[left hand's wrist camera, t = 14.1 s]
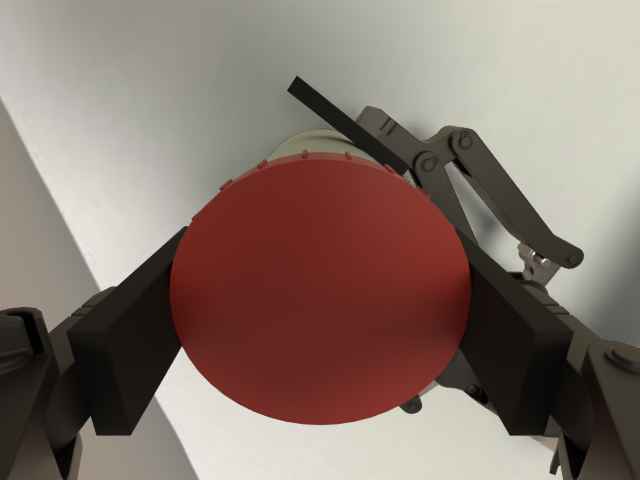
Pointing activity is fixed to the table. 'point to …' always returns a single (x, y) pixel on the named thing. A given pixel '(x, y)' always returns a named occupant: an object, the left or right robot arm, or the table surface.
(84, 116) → the table surface
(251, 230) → the lid
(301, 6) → the table surface
